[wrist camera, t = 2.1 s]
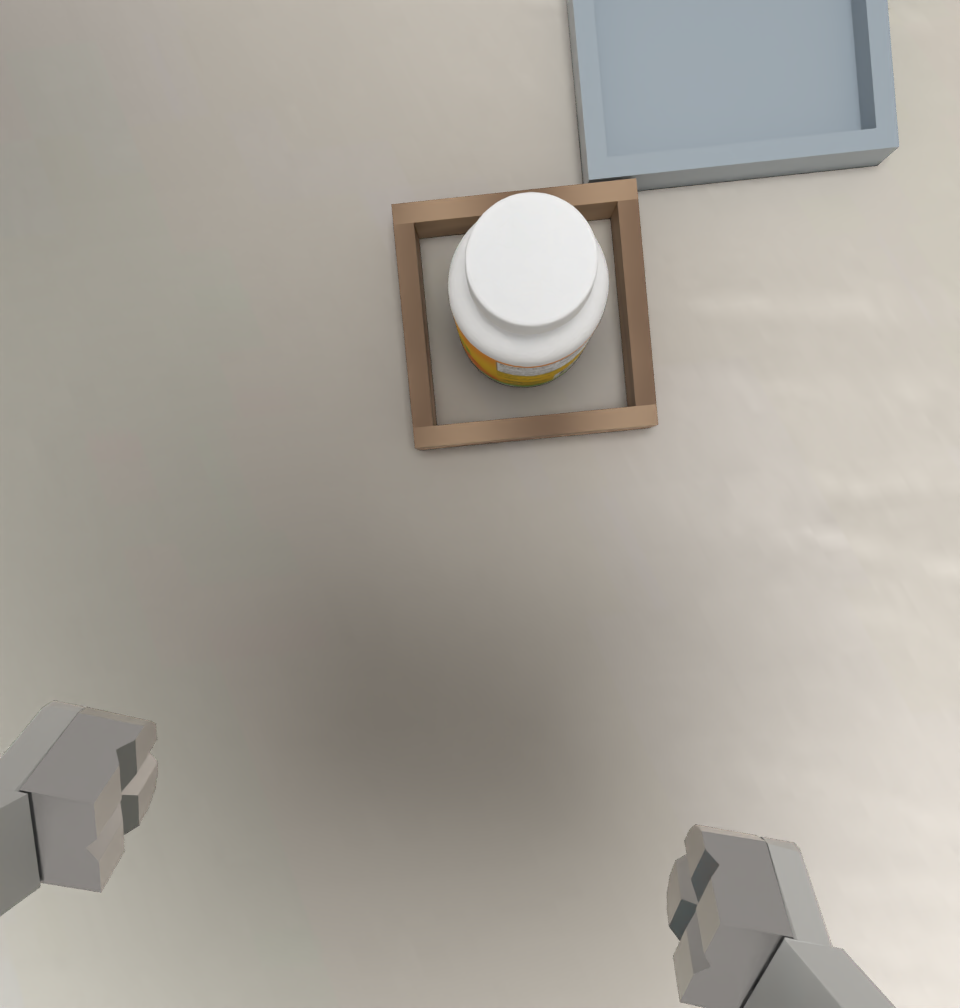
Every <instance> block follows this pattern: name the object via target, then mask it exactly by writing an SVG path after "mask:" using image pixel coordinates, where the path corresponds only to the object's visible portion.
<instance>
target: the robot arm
mask: <svg viewBox="0 0 960 1008" xmlns="http://www.w3.org/2000/svg"><path fill="white" fill-rule="evenodd" d="M156 741H157V730H156V723H154V722H152V721H149V720H144V719H140V718H135V717H131V716H126V715H122V714H117V713H112V712H108V711H103V710H99V709H94V708H90V707H83V706H78V705H73V704H69V703H64V702H59V701H55V700H54V701H52V702H50V703H49V704H47V705H45V706H44V707H42V708H41V710H40V711H39V712H38V713H37V714H36V716H35V717H34V718H33V719H32V720H31V722H30V723H29V724H28V725H27V726H26V728H25V729H24V730H23V731H22V732H21V734H20V735H19V736H18V737H17V739H16V740H15V741H14V742H13V743H12V745H11V746H10V747H9V748H8V749H7V751H6V752H5V753H4V754H3V755H2V757H1V758H0V916H1V915H3V914H4V913H5V912H7V911H8V910H9V909H11V908H12V907H14V906H15V905H16V904H18V903H19V902H20V901H22V900H23V899H24V898H26V897H27V896H28V895H30V894H31V893H33V892H34V891H35V890H37V889H38V888H39V887H40V886H41V884H40V883H45V884H51V885H58V886H64V887H70V888H76V889H83V890H89V891H95V892H102V890H103V889H104V887H105V885H106V883H107V882H108V880H109V878H110V876H111V875H112V873H113V871H114V869H115V868H116V866H117V864H118V862H119V861H120V859H121V857H122V855H123V854H124V835H125V834H126V833H128V832H130V831H131V830H133V829H134V828H136V827H138V826H139V825H140V823H141V821H142V819H143V818H144V816H145V814H146V812H147V810H148V808H149V805H150V803H151V800H152V797H153V794H154V791H155V788H156V782H157V776H158V761H157V760H156V759H155V757H154V756H153V755H152V754H151V752H150V751H151V749H152V748H153V746H154V744H155V743H156ZM684 841H685V847H686V853H687V854H686V855H684V856H682V857H681V858H679V859H677V860H675V863H674V866H673V868H672V871H671V873H670V876H669V882H668V889H667V915H668V923H669V927H670V929H671V930H672V931H673V933H674V934H675V935H676V937H677V938H678V939H679V941H680V942H679V944H678V946H677V948H676V951H675V953H674V955H673V960H674V967H675V973H676V980H677V987H678V994H679V1001H680V1002H682V1003H686V1004H691V1005H695V1006H700V1007H704V1008H896V1007H895V1006H894V1005H893V1004H892V1003H891V1002H890V1000H889V999H888V998H887V997H886V996H885V995H884V994H883V993H882V992H881V990H880V989H879V988H878V987H877V986H876V985H875V984H874V983H873V982H872V981H871V979H870V978H869V977H868V976H867V975H866V974H865V973H864V972H863V971H862V970H861V968H860V967H859V966H858V965H857V964H856V963H855V962H854V961H853V960H852V958H851V957H850V956H849V955H848V954H847V953H846V952H845V951H844V950H843V949H841V948H837V947H833V946H832V943H831V940H830V937H829V934H828V931H827V928H826V925H825V922H824V919H823V916H822V913H821V910H820V907H819V904H818V901H817V898H816V895H815V892H814V889H813V886H812V883H811V880H810V877H809V874H808V871H807V868H806V865H805V862H804V859H803V856H802V853H801V850H800V849H799V847H798V846H797V845H796V844H795V843H793V842H788V841H783V840H777V839H772V838H766V837H759V836H757V835H752V834H746V833H741V832H735V831H730V830H724V829H718V828H713V827H707V826H702V825H696V824H695V825H694V826H693V827H692V828H691V829H690V830H689V832H688V834H687V836H686V838H685V840H684Z"/></svg>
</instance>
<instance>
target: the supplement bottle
mask: <svg viewBox="0 0 960 1008" xmlns="http://www.w3.org/2000/svg"><path fill="white" fill-rule="evenodd" d="M608 288H609V276H608V268H607V263H606V260H605V256H604V253H603V251H602V249H601V246H600V244H599V243H598V241H597V239H596V238H595V236H594V234H593V231H592V229H591V227H590V225H589V224H588V222H587V221H586V219H585V218H584V217H583V215H582V214H581V213H580V212H579V211H578V210H577V209H576V208H575V207H574V206H572V205H571V204H569V203H568V202H566V201H564V200H562V199H560V198H558V197H556V196H553V195H550V194H546V193H538V192H526V193H519V194H515V195H512V196H509V197H506V198H504V199H502V200H500V201H498V202H497V203H495V204H494V205H493V206H491V207H490V208H489V209H488V210H486V211H485V212H484V213H483V214H482V216H481V217H480V218H479V219H478V221H477V222H476V223H475V224H474V225H473V226H472V227H471V228H470V229H469V230H468V231H467V233H466V234H465V235H464V237H463V238H462V240H461V241H460V243H459V245H458V246H457V248H456V250H455V253H454V255H453V258H452V261H451V265H450V270H449V276H448V296H449V301H450V307H451V310H452V314H453V317H454V320H455V324H456V327H457V330H458V333H459V336H460V340H461V343H462V345H463V348H464V350H465V352H466V353H467V355H468V357H469V358H470V360H471V361H472V363H473V364H474V365H475V366H476V367H477V368H478V369H479V370H480V371H481V372H482V373H483V374H485V375H486V376H487V377H489V378H491V379H492V380H494V381H496V382H499V383H502V384H505V385H508V386H514V387H534V386H539V385H542V384H545V383H548V382H550V381H552V380H554V379H556V378H558V377H559V376H561V375H562V374H563V373H565V372H566V371H567V370H568V369H569V368H570V367H571V366H572V365H573V364H574V363H575V362H576V360H577V359H578V358H579V356H580V355H581V353H582V352H583V350H584V348H585V346H586V345H587V343H588V341H589V339H590V338H591V336H592V334H593V332H594V331H595V329H596V328H597V326H598V324H599V322H600V320H601V318H602V315H603V312H604V310H605V306H606V302H607V296H608Z"/></svg>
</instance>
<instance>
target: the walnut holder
mask: <svg viewBox="0 0 960 1008" xmlns="http://www.w3.org/2000/svg"><path fill="white" fill-rule="evenodd" d="M526 192H538V193H546V194H550V195H553V196H556V197H558V198H560V199H562V200H564V201H566V202H568V203H569V204H571V205H572V206H574V207H575V208H576V209H577V210H578V211H579V212H580V213H581V214H582V215H583V217H584V218H585V219H586V221H590V220H599V219H609V218H611V228H612V239H613V250H614V261H615V272H616V284H617V295H618V306H619V317H620V328H621V339H622V351H623V362H624V373H625V384H626V395H627V406H628V407H622V408H612V409H601V410H591V411H581V412H571V413H560V414H550V415H540V416H529V417H519V418H509V419H499V420H488V421H478V422H468V423H457V424H447V425H437V420H436V410H435V399H434V389H433V378H432V368H431V357H430V347H429V336H428V326H427V315H426V305H425V294H424V284H423V273H422V263H421V252H420V242H419V238H428V237H438V236H447V235H457V234H466V233H467V231H468V230H469V229H470V228H471V227H472V226H473V225H474V224H475V223H476V222H477V221H478V219H479V218H480V217H481V216H482V214H483V213H484V212H485V211H486V210H488V209H489V208H490V207H491V206H493V205H494V204H495V203H497V202H498V201H500V200H502V199H504V198H506V197H509V196H512V195H515V194H519V193H526ZM391 205H392V215H393V226H394V236H395V246H396V257H397V267H398V278H399V288H400V298H401V309H402V319H403V330H404V340H405V350H406V361H407V371H408V382H409V392H410V402H411V413H412V423H413V434H414V444H415V448H416V449H419V450H427V449H437V448H447V447H458V446H468V445H479V444H489V443H499V442H510V441H520V440H531V439H541V438H551V437H562V436H572V435H583V434H593V433H603V432H614V431H624V430H635V429H645V428H651V427H653V426H656V425H658V417H657V406H656V395H655V383H654V372H653V361H652V350H651V338H650V327H649V316H648V305H647V293H646V282H645V271H644V260H643V248H642V237H641V226H640V215H639V203H638V192H637V181H636V178H633V179H624V180H615V181H605V182H596V183H587V184H577V185H568V186H559V187H549V188H540V189H531V190H521V191H512V192H503V193H493V194H484V195H474V196H465V197H456V198H446V199H437V200H428V201H418V202H409V203H400V204H391Z"/></svg>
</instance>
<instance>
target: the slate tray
mask: <svg viewBox="0 0 960 1008" xmlns="http://www.w3.org/2000/svg"><path fill="white" fill-rule="evenodd" d="M567 10H568V21H569V32H570V44H571V55H572V66H573V77H574V88H575V99H576V110H577V121H578V132H579V143H580V154H581V165H582V176H583V184H587V183H596V182H605V181H615V180H624V179H633V178H636V181H637V191H642V190H652V189H661V188H670V187H680V186H689V185H698V184H708V183H717V182H727V181H736V180H745V179H755V178H764V177H774V176H783V175H792V174H802V173H811V172H821V171H830V170H839V169H849V168H858V167H868V166H877V165H878V164H880V163H881V162H882V161H883V160H884V159H885V158H887V157H888V156H889V155H890V154H891V153H892V152H894V151H895V150H896V149H897V148H898V147H899V139H898V126H897V114H896V102H895V89H894V77H893V65H892V52H891V40H890V28H889V15H888V3H887V0H567Z"/></svg>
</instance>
